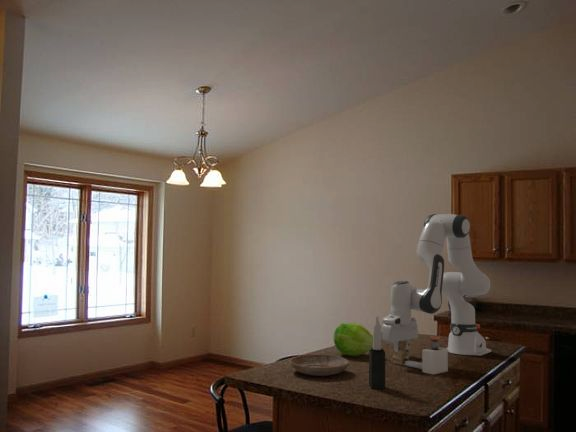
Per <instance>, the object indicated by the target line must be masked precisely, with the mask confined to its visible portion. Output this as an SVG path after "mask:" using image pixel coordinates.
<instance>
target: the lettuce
mask: <svg viewBox="0 0 576 432" xmlns="http://www.w3.org/2000/svg"><path fill="white" fill-rule="evenodd" d="M333 343H334V346H335V347H336V349H337V350H338V352H340V354H342V355H344V356H349V357H360V356H362V355H364V354H366V353H367V352H369V350H371V348H373V333H371V332H370V331H369V330H368V329H367V328H366V327H365V326H364V325H362V324H360V323H356V322H344V323H343V322H342V323H340V324H339V325H338V326H337V327H336V328H335V330H334V333H333Z"/></svg>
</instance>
